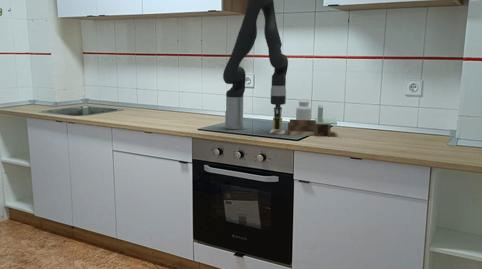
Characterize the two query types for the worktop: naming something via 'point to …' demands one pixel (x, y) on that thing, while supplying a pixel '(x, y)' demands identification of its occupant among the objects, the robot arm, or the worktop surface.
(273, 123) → the block
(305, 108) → the pill bottle
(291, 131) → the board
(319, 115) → the pale grey l-shaped piece
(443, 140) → the worktop surface
